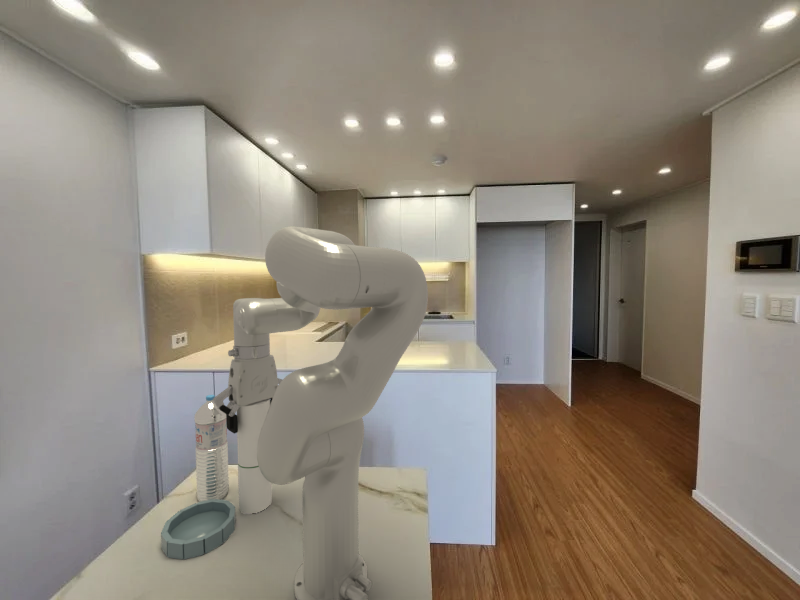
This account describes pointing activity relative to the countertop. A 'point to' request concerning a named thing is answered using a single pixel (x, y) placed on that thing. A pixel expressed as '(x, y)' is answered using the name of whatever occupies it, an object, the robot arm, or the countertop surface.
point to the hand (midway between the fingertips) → (253, 424)
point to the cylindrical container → (251, 459)
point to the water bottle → (211, 452)
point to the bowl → (198, 529)
